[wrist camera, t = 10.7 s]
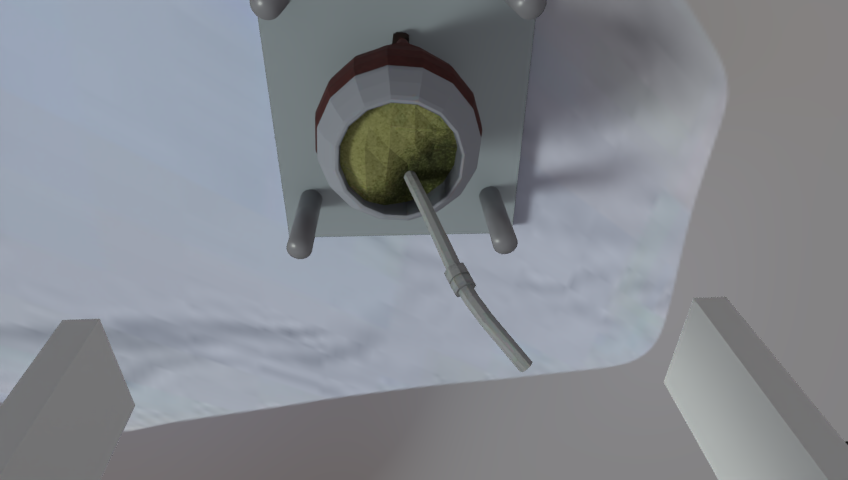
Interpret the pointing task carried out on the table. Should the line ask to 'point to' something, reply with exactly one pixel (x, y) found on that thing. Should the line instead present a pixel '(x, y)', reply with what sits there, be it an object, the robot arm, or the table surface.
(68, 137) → the table surface
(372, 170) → the mate gourd
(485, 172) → the tray
